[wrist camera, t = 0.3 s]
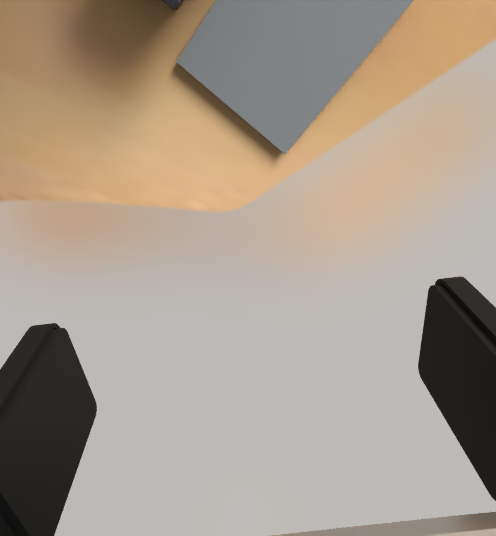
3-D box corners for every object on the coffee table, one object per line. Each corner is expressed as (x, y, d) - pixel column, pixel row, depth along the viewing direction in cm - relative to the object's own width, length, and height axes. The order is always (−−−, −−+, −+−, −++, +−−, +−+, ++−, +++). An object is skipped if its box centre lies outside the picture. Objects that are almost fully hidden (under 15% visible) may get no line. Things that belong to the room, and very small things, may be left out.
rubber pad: (305, -135, 29) (309, -144, 27) (412, -6, 33) (420, -9, 31) (177, 61, 34) (175, 61, 33) (282, 150, 38) (285, 154, 37)
